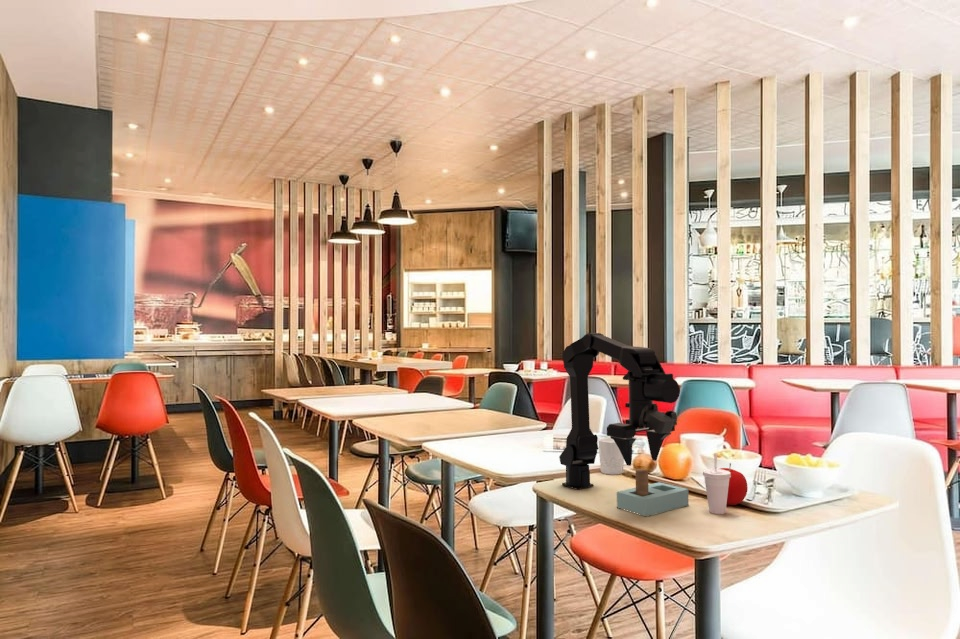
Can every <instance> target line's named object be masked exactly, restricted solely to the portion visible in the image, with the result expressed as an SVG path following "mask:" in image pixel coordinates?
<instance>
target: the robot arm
mask: <svg viewBox="0 0 960 639" xmlns="http://www.w3.org/2000/svg"><path fill="white" fill-rule="evenodd" d="M600 353H601V354H603V355H606V356H608V357H610V358H613V359H615V360H617V362H619V365H620V366H621V367H623V368H624V369H625V370H626V371H627V372H626V373H625V374H624V376H622V380H623V381H628V402H625V403H624V404H625V407H624V408H628V414H629V415H628V419H625V423H622V422H616V423H615V422H614V423H609V424H608V425H607V426H606V436H608V437H609V438H611V439H613V440H614V441H615V443H616V445H617V446H618V448H619V450H620V452H621V454H622V456H623V458H624V462H625V464H626V466H631V465H632V462H633V461H632V460H633V444H634V443H635V442H636V440H637V438H635V436H636V435H637V434H636V433H640V432H645V433H646V437H647V443H648V448H649V452H650V457H651V460H652V461H654V462H656V461H657V460H658V457H659V454H660V451H661V448H662V444H663V442H664V441H665V439H666V438H667V437H668V436H670V435H672V432H675V431H676V428H675V427H676V426H677V425H678V418H677V417H678V416H677V412H675V411H674V410H667V411H666V412H665V411H659V409H658V405H657V403H654V402H659V403H665V404H673V403H675V402H677V400H678V399H679V397H680V394H681V387H680V385H679V382H677V380H676V379H674V374H673V373H666V371H665V370H664V368H663V366H662V365H661V363H660V361H659V359H658V356H657V355H656V354H655V353H656V351H655V350H654V349H652V348H651V347H650V348H649V347H644V346H634V345H633V346H632V345H628V344H625V343H623V342H621V341H618V340H615V339H614V338H611V337H608V336H606V335H604V334H602V333H600V332H590V333H589V332H588V333H586V334H584V335H583V336H582V337H581V338H580V339H578V340H576V341H573V342H571V343H570V344H569V345H567V346H566V347H565V348H564V349H563V350H562V361H563V369H564V370H565V371H566V373H567V375H568V376H569V382H570V384H569V385H570V387H569V388H570V390H569V391H570V413H571V414H570V415H571V429H570V431H569V433H568V435H567V437H566V440H565V442H566V443H565V448H564V449H563V451H562V452H561V454H560V455H559V457H558V458H559V463H560V464H561V466H562V465H563V466H565V482H562V483H561V486H564V487H567V488H571V489H574V490H580V489H585V488H590V487H594V484H593V483H591V471H590V465H591V464H592V465H594V464H595V462H596V457H597V454H598V450H599V443H598V442H599V438H598V435H597V434H594V432H593V431H592V429H591V426H590V424H591V423H590V403H589V402H590V399H589V376H590V373H591V371H592V369H593V367H594V359H595V358H596V357H597V356H599V355H600Z"/></svg>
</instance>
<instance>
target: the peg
mask: <svg viewBox="0 0 960 639" xmlns="http://www.w3.org/2000/svg"><path fill="white" fill-rule="evenodd" d="M648 485H649V470H647V469H644V468H642V469H641V468H640V469H639V468H638V469H635V488H636V495H639V496H647V495H648Z"/></svg>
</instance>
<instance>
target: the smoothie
mask: <svg viewBox="0 0 960 639" xmlns="http://www.w3.org/2000/svg"><path fill="white" fill-rule="evenodd" d="M713 457H714V461H713V463H714V468H707V469H703V470H702V476H703V477H704V484H705V490H706V497H707V498H706V499H707V504H708V506H707V507H708V510H709V511H708V512H709V513H710V514H715V515H723V514H724V515H725V514H726V512H727V505H726V504H727V495H728V487H729V478H730V477H731V473H730V472H729V471H726V470H722V469H720V468H718V454H717V453H714V456H713Z"/></svg>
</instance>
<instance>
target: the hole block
mask: <svg viewBox="0 0 960 639" xmlns="http://www.w3.org/2000/svg"><path fill="white" fill-rule="evenodd" d="M689 497H690V496H689V488H684V487H681V486H676V485H672V484H669V483H663V482H654V483H648V495H647V496H639V495H636V487H632V488H628V489H624V490H619V491H616V508H617V507H618V508H617V509H619V508H622V509H625V510H628V511H631V512H630V513H632V512H635V513H638V514H640V515H639V516H641V515H644V516H647V517H650V516H649V515H651V516H653V515H657V514H661V513H665V512H670V511H674V510H676V509H681V508H684V507H689V503H690V502H689V501H690V500H689ZM622 509H621V510H622ZM625 510H624V511H625ZM628 511H627V512H628ZM635 513H634V514H635ZM638 514H637V515H638ZM644 516H643V517H644Z"/></svg>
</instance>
